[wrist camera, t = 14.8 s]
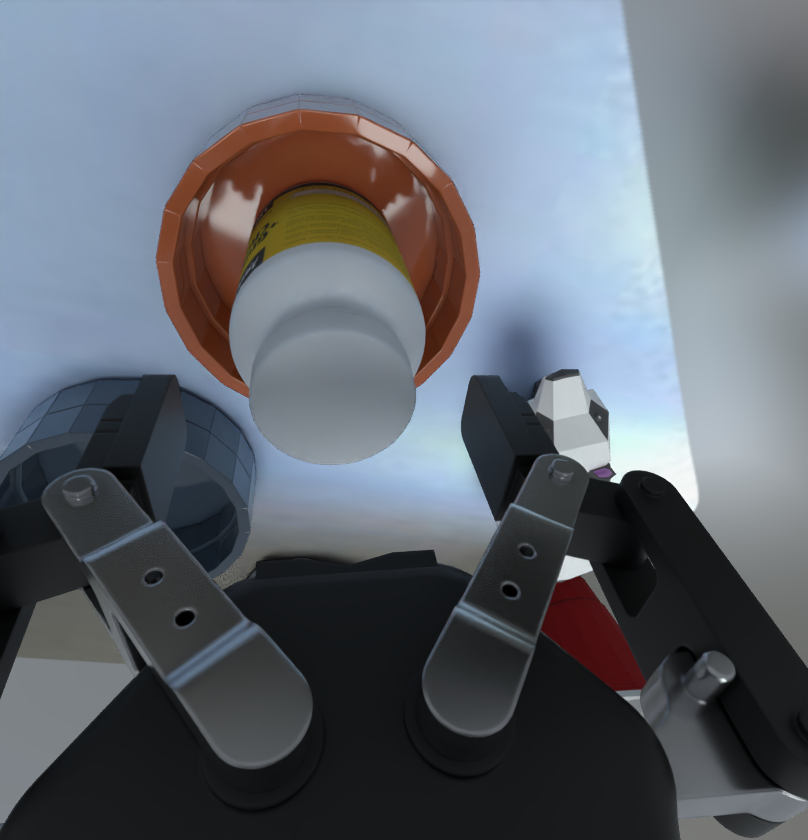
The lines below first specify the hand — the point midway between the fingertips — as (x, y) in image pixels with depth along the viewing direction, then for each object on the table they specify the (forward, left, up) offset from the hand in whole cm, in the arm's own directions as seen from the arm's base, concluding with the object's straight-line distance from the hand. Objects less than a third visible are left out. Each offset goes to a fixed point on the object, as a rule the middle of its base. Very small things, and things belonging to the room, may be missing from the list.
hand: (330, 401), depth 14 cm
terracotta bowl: (0, 0, -12) cm, 12 cm away
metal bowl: (-10, -13, -12) cm, 20 cm away
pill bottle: (0, 0, -12) cm, 12 cm away
